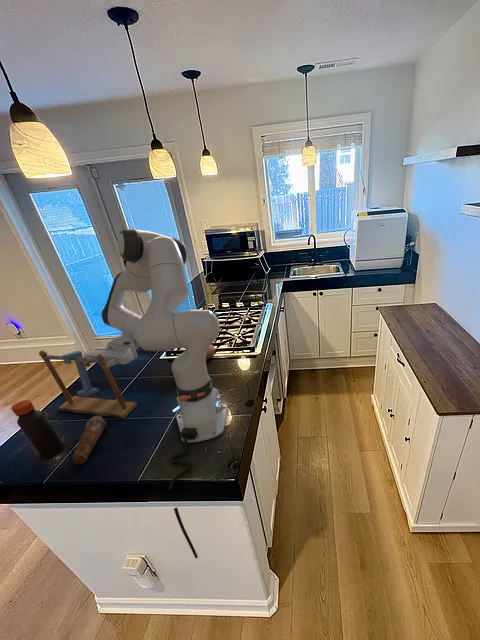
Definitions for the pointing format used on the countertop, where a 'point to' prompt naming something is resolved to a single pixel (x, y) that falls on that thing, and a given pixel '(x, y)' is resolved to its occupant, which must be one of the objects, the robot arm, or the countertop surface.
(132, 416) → the countertop surface
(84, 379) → the hanger
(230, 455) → the countertop surface
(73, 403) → the rail stand
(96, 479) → the countertop surface
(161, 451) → the countertop surface
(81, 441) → the bread
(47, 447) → the bottle
